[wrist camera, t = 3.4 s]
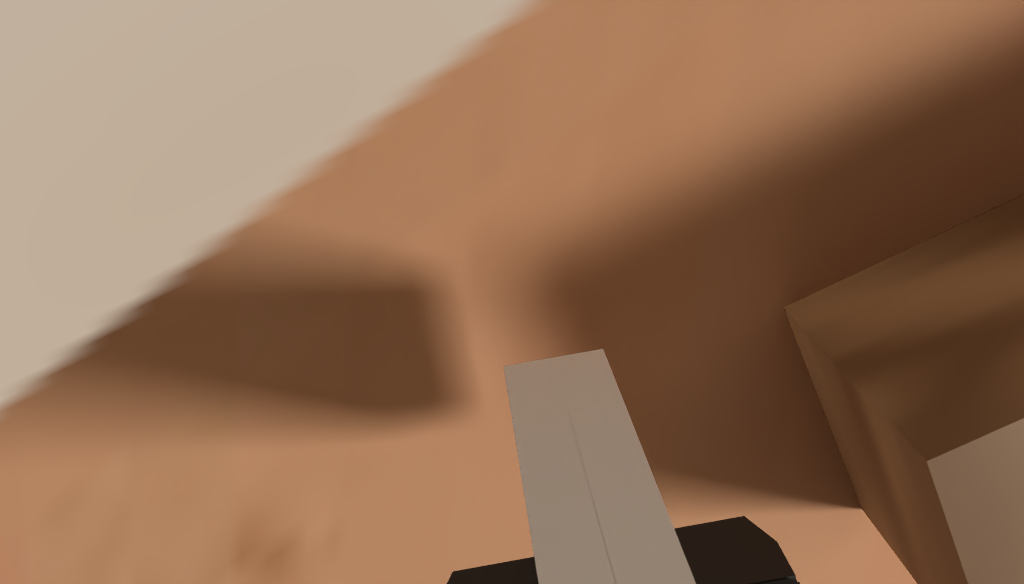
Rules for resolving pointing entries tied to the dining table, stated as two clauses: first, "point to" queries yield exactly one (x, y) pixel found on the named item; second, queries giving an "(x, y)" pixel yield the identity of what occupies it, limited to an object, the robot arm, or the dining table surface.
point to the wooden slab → (932, 395)
